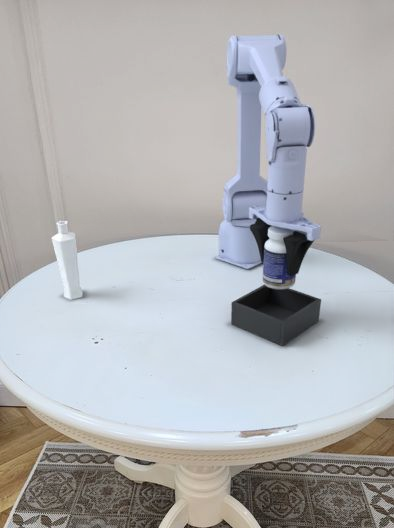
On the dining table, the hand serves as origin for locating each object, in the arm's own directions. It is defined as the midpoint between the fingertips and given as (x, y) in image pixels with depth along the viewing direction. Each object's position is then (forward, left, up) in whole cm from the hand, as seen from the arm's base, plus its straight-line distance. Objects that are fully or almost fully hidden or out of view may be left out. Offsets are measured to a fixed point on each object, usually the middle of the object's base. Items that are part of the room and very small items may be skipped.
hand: (279, 268), depth 92 cm
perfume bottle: (-36, -19, -10) cm, 42 cm away
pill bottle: (0, 0, -3) cm, 3 cm away
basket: (+1, -2, -10) cm, 10 cm away
